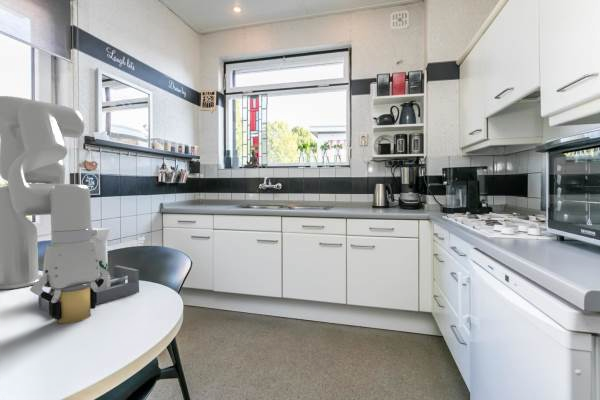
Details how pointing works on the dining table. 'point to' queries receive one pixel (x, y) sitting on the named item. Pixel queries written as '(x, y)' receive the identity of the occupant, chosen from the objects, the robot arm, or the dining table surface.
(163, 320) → the dining table surface
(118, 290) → the grey open rectangular box
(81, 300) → the honey jar
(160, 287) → the dining table surface
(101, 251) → the milk carton
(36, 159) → the robot arm
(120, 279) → the pusher
